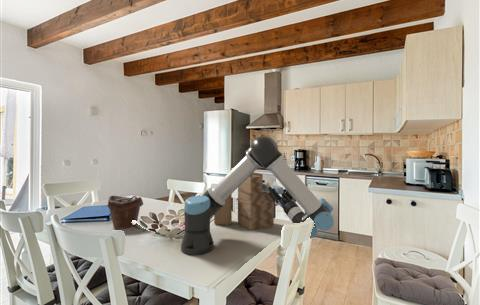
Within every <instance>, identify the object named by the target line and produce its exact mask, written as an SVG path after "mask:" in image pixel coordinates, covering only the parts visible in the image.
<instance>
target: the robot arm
mask: <svg viewBox="0 0 480 305" xmlns="http://www.w3.org/2000/svg"><path fill="white" fill-rule="evenodd" d="M283 157H284V156H283V154H282V153H281V151H280V150H279V149H278V143H277V142H276V141H275V139H274V138H272V137H270V136H267V135H260V136H258V137H256V138H254V140H253V141H252V142H251V145H250V146H249V147H248V149H247V150H245V155H244V157H243V158H242V159H241V160H240V161H239V162H237V164H236V165H235V166H234V167H233V168H232V169H231V170H230V171H229V172H228V173H227V174H226V175H225V176H224V177H223V178H222V179H221V180H220V181H219V182H217V184H216V185H215V186H213V187H209V188H208V189H207V190H206V191H205V192H204V193H203V194H202V195H194V196H190V197H188V198H186V199H185V202H184V206H183V209H184V211H183V212H184V214H183V215H184V234H183V236H182V239H181V243H180V251H181V252H182V253H184V254H186V255H191V256H196V255H205V254H207V253H210V252H211V251H213V250H214V249H215V248H214V247H215V243H214V239H213V236H212V234H211V233H212V232H211V218H212V217H214V215H215V214H216V213H217V212H218V211H219V210H220V209H221V208H222V207H223V206H224V205H225V200H226V199H227V198H228V197H229V196H230V195H231V194H233V193H234V192H235V191H237V190H238V187H239V186H240V185H241V184H242V183H243V182H244V181H245V180H246V179H247V178H248V177H249V176H250V175H251V174H252V173H253V172H254V173H255V172H256V170H258V169H263V168H264V169H265V170H267V171H269V172H271V174H272V175H273V176H274V177H275V178H276V180H277V181H278V183H280V185H282V187H283V194H278V193H277V192H276V191H275V190H274V188H273V186H272V185H275V186H279V184H278V183H277V182H276V181H275V180H274V181H273V183H271V182H270V181H267V187H268V189H269V191H270V192H269V196H270V197H271V199H272V200H273V202H274V207H277V206H280V207H281V208H282V210H283V212H284V214H286V216H287V217H288V219H289V220H290V221H291V222H292V224H293V223H300V222H304V221H305V220H306V219H307V218H309V217H310V218H311V219H312V220H313V221H314V223H315V224H314V226H315V227H313V229H312V232H311V236H310V239H313V238H314V237H315V236H317V234H318V233H319V230H320V231H324V232H325V231H329V230H331V229H332V228H333V227H334V225H335V222H334V221H335V220H334V216H333V215H332V214H331V213H332V212H333V210H334V207H333V205H332V204H330V203H329V201H327V200H326V199H324V198H323V197H321V198H320V199H318V197H317V196H316V195H315V194H314V193H313V192H312V191H311V190H310V188H309V187H308V185H306V183H304V182H303V181H302V179H301V178H300V177H299V176H298V175H297V174H296V172H295V171H294V170H293V169H292V168H291V167H290V166H289V165H288V163H287V162H286V161H285V160H284V158H283ZM300 207H301V208H300ZM310 239H309V240H310Z"/></svg>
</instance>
